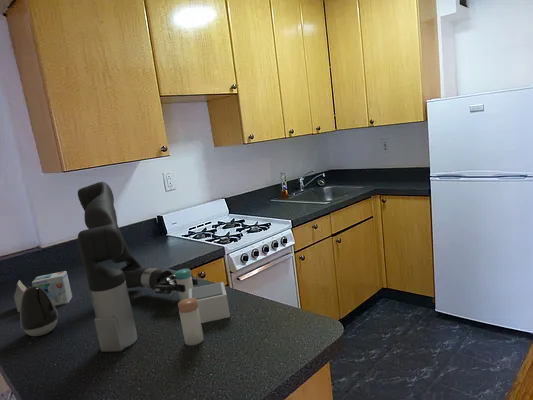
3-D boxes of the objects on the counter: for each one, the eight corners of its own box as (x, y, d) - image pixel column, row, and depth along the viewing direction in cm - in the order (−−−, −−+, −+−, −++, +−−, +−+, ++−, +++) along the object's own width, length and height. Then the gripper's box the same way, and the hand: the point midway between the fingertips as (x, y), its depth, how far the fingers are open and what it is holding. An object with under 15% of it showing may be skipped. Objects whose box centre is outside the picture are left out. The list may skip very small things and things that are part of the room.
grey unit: (230, 316, 115) (226, 293, 114) (192, 325, 113) (188, 301, 112) (226, 301, 126) (223, 280, 125) (192, 309, 124) (188, 287, 123)
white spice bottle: (199, 345, 102) (192, 305, 100) (182, 345, 102) (174, 306, 101) (206, 335, 106) (199, 297, 104) (189, 335, 107) (182, 298, 105)
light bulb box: (37, 310, 142) (30, 282, 140) (42, 303, 149) (36, 276, 147) (69, 303, 145) (62, 275, 143) (72, 296, 151) (66, 270, 149)
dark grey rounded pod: (55, 321, 130) (44, 278, 127) (65, 329, 123) (54, 283, 120) (20, 334, 123) (8, 289, 121) (29, 344, 116) (16, 296, 113)
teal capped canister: (192, 305, 126) (186, 273, 125) (178, 306, 127) (172, 274, 126) (198, 299, 131) (192, 268, 129) (184, 299, 132) (178, 269, 130)
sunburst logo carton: (17, 312, 143) (11, 286, 141) (19, 306, 149) (13, 281, 147) (29, 308, 144) (22, 283, 143) (30, 303, 150) (24, 278, 149)
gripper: (138, 277, 130) (172, 283, 120) (170, 262, 142) (204, 266, 132) (142, 298, 132) (176, 305, 122) (174, 281, 143) (207, 287, 133)
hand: (190, 285), depth 127 cm, fingers closed on teal capped canister, 5 cm apart
